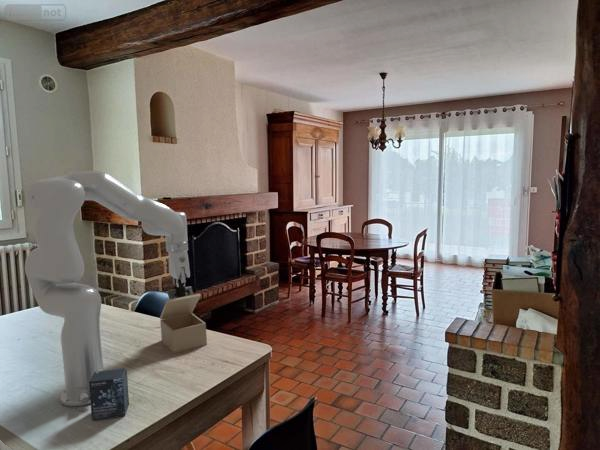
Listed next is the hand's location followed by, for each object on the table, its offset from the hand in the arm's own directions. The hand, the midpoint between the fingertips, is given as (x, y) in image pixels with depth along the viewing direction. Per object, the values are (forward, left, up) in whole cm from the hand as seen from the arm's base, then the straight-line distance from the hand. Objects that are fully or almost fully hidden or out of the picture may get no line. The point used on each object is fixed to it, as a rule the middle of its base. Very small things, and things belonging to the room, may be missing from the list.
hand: (179, 296), depth 145 cm
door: (0, 0, -4) cm, 4 cm away
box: (-33, +30, -17) cm, 48 cm away
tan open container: (-1, 0, -17) cm, 17 cm away
